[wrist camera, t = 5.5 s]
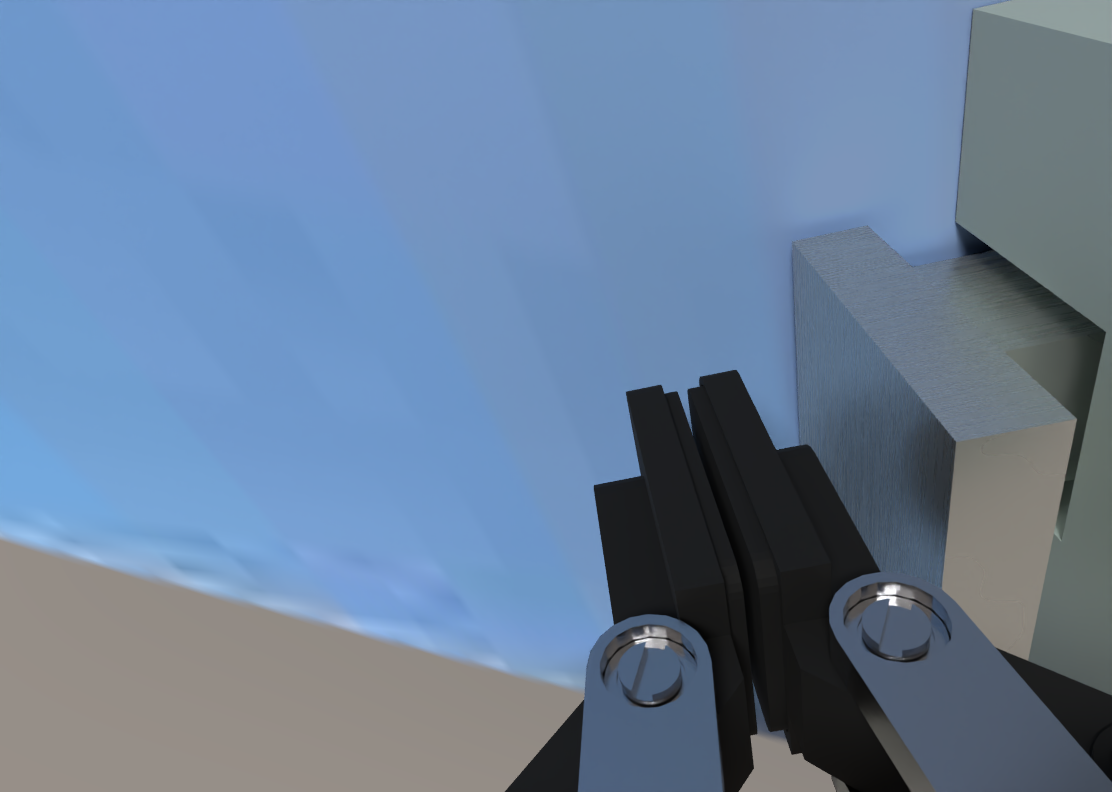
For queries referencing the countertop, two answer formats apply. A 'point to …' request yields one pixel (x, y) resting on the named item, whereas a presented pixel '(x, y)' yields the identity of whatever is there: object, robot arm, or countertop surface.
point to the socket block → (1054, 262)
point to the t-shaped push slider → (944, 414)
